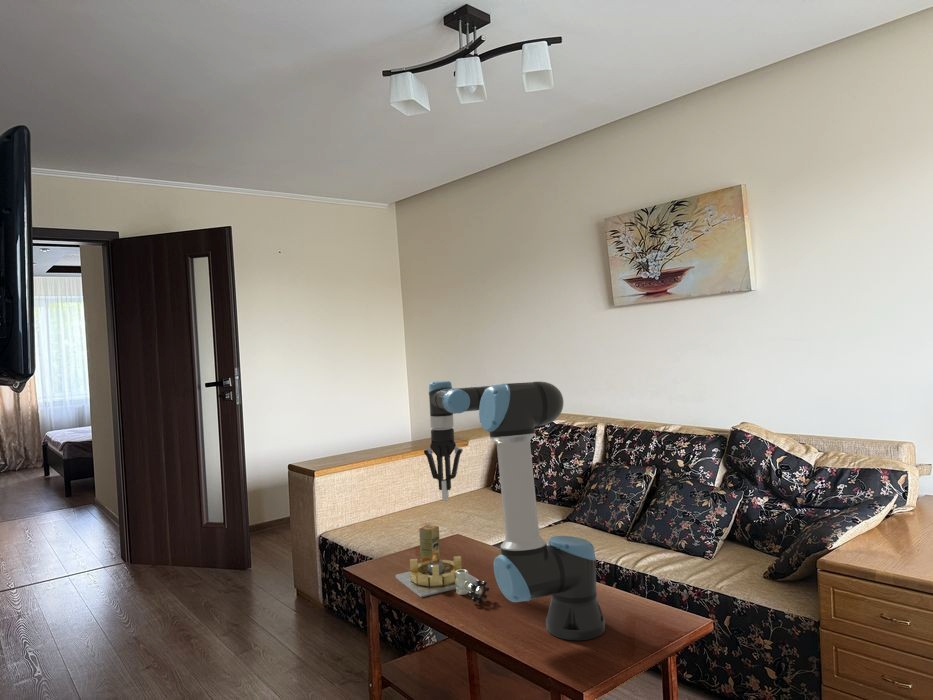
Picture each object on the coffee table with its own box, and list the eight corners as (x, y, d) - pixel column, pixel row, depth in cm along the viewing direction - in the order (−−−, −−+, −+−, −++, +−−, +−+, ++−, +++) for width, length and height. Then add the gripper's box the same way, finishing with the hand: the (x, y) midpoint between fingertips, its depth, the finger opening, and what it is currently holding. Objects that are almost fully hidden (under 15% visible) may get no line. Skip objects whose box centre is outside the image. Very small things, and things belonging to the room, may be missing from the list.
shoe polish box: (420, 563, 223) (419, 528, 222) (428, 558, 227) (426, 525, 227) (433, 565, 220) (431, 530, 220) (440, 560, 224) (438, 526, 224)
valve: (449, 593, 195) (470, 606, 185) (448, 571, 195) (469, 583, 185) (468, 588, 198) (489, 600, 188) (467, 566, 198) (488, 577, 188)
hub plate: (479, 583, 202) (478, 567, 202) (421, 597, 192) (420, 580, 192) (450, 565, 219) (449, 550, 219) (395, 577, 210) (394, 562, 210)
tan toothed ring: (460, 565, 214) (460, 548, 214) (462, 584, 198) (462, 565, 198) (411, 568, 214) (410, 551, 213) (409, 587, 197) (408, 569, 197)
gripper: (463, 426, 213) (467, 497, 213) (426, 427, 216) (429, 497, 216) (459, 429, 206) (462, 502, 206) (420, 430, 208) (423, 502, 209)
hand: (445, 499), depth 211 cm, fingers closed
